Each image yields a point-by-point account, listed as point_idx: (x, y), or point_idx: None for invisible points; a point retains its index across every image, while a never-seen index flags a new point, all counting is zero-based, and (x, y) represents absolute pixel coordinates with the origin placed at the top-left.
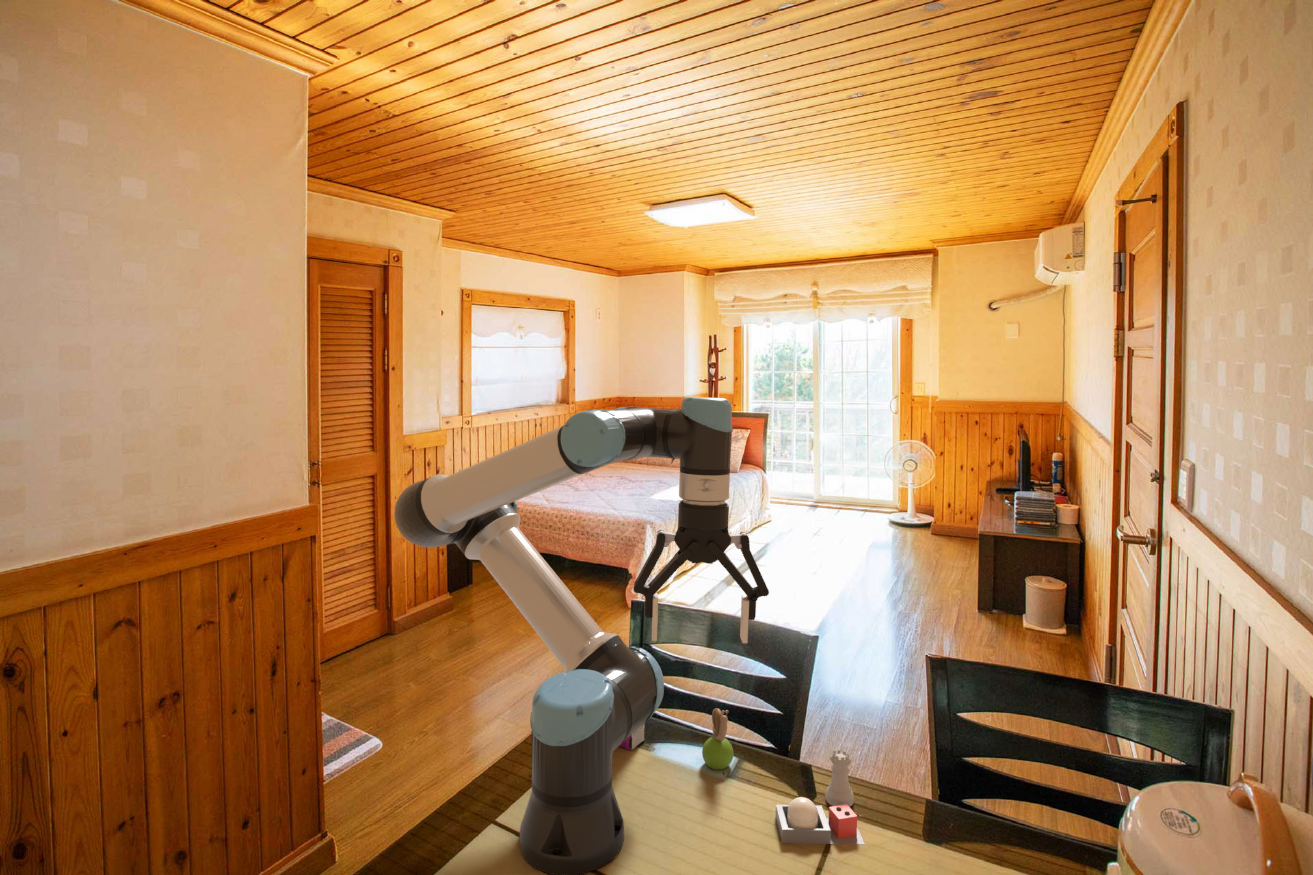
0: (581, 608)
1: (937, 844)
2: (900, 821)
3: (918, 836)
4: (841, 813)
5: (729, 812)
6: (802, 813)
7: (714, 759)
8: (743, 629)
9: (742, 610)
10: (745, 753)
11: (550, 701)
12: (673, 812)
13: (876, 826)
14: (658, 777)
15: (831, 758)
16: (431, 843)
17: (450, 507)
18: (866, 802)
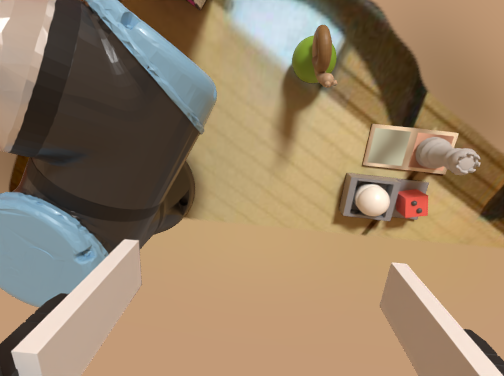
0: None
1: (488, 220)
2: (476, 185)
3: (478, 208)
4: (413, 209)
5: (302, 156)
6: (369, 215)
7: (304, 81)
8: (399, 338)
9: (439, 371)
10: (358, 26)
11: (8, 289)
12: (244, 151)
13: (446, 190)
14: (233, 81)
15: (451, 161)
16: None
17: None
18: None
